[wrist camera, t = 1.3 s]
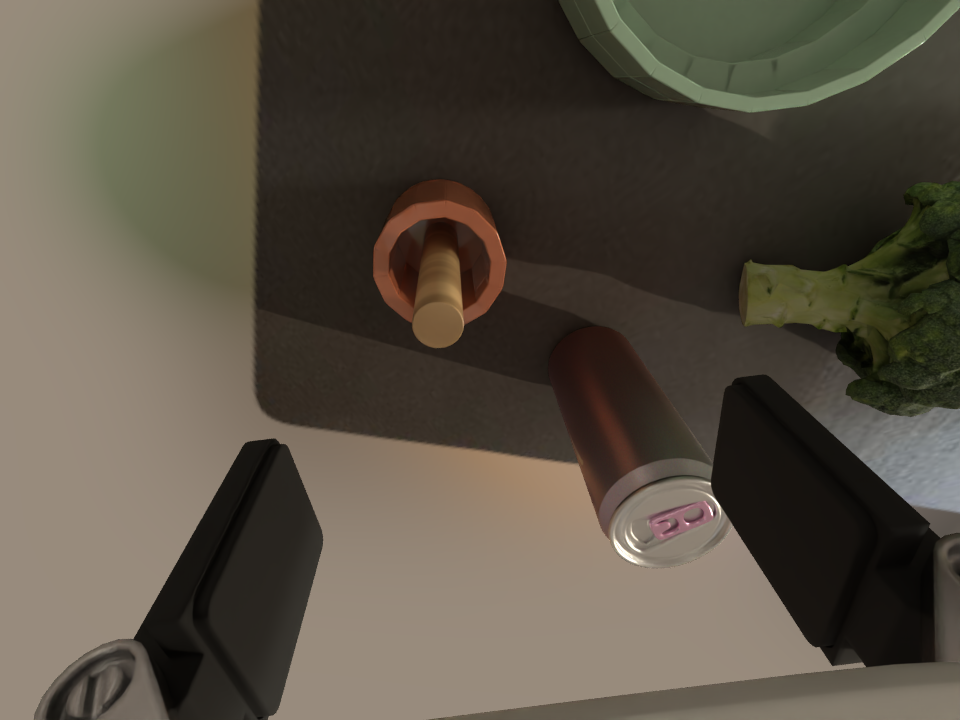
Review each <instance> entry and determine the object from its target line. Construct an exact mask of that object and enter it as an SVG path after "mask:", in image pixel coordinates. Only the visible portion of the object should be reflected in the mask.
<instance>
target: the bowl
mask: <svg viewBox="0 0 960 720" xmlns="http://www.w3.org/2000/svg"><path fill="white" fill-rule="evenodd" d="M558 1H559V3H560V5H561V7H562V9H563V11H564V13H565V15H566V17H567V19H568V20H569V22H570V24H571V26H572V28H573V30H574V32H575V34H576V36H577V38H578V39H579V41H580V42H581V43H582V44H583V46H584V47H585V48H586V49H587V50H588V51H589V52H590V53H591V54H592V55H593V56H594V57H595V58H596V59H597V60H598V61H599V63H600V64H601V65H602V66H603V67H604V68H605V69H606V70H607V71H608V72H609V73H610V74H611V75H612V76H614V78H616V79H618V80H620V81H621V82H623V83H625V84H627V85H629V86H630V87H632V88H634V89H636V90H638V91H640V92H641V93H643V94H645V95H647V96H649V97H650V98H652V99H655V100H661V101H666V102H672V103H677V104H683V105H688V106H694V107H701V108H711V109H720V110H729V111H739V112H748V113H749V112H750V113H752V112H760V111H768V110H776V109H784V108H792V107H800V106H806V105H810V104H812V103H815V102H817V101H820V100H822V99H825V98H827V97H830V96H832V95H835V94H837V93H839V92H842V91H844V90H847V89H849V88H852V87H854V86H857V85H859V84H862V83H864V82H866V81H868V80H869V79H871V78H872V77H874V76H875V75H877V74H878V73H880V72H881V71H883V70H884V69H885V68H887V67H888V66H890V65H891V64H893V63H894V62H896V61H897V60H899V59H900V58H902V57H903V56H905V55H906V54H908V53H909V52H911V51H912V50H914V49H915V48H917V47H918V46H919V45H921V44H922V43H924V42H925V41H926V40H927V39H928V38H929V37H930V36H931V35H932V34H933V33H934V32H935V31H936V30H937V29H938V28H939V27H940V26H941V25H942V24H943V23H945V22H946V21H947V20H948V19H949V18H950V17H951V16H952V15H953V14H954V13H955V12H956V11H957V10H958V9H959V8H960V0H558Z"/></svg>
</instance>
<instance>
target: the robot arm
mask: <svg viewBox="0 0 960 720" xmlns="http://www.w3.org/2000/svg"><path fill="white" fill-rule="evenodd" d="M711 488H712V492H713V494H714V496H715V498H716V500H717V501H718V503H719V505H720V506H721V508H722V509H723V511H724V512H725V514H726V515H727V517H728V518H729V520H730V522H731V523H732V525H733V526H734V528H735V529H736V531H737V532H738V534H739V536H740V537H741V539H742V540H743V542H744V543H745V545H746V546H747V548H748V550H749V551H750V553H751V554H752V556H753V557H754V559H755V560H756V562H757V563H758V565H759V567H760V568H761V570H762V571H763V573H764V574H765V576H766V577H767V579H768V580H769V582H770V584H771V585H772V587H773V588H774V590H775V591H776V593H777V594H778V596H779V598H780V599H781V601H782V602H783V604H784V605H785V607H786V609H787V610H788V612H789V613H790V615H791V616H792V618H793V619H794V621H795V623H796V624H797V626H798V627H799V628H800V630H801V632H802V633H803V635H804V637H805V638H806V639H807V641H808V642H809V643H810V644H811V645H812V646H814V647H820V648H821V650H822V651H823V652H824V654H825V656H826V657H827V659H828V660H829V661H830V663H831V665H832V666H835V665H844V664H851V663H860V662H863V663H864V665H865V666H866V667H865V668H855V669H845V670H835V671H825V672H816V673H805V674H796V675H788V676H779V677H771V678H762V679H754V680H745V681H737V682H729V683H721V684H712V685H703V686H696V687H687V688H678V689H670V690H662V691H653V692H645V693H637V694H629V695H620V696H612V697H604V698H596V699H588V700H580V701H572V702H564V703H556V704H548V705H540V706H532V707H524V708H517V709H508V710H500V711H492V712H484V713H476V714H468V715H461V716H453V717H445V718H438V719H430V720H960V533H954V534H950V535H945V536H943V537H942V538H940V537H939V536H938V535H936V534H935V533H934V532H933V531H932V530H931V529H930V528H929V525H930V523H929V522H928V521H927V520H926V519H925V518H923V517H922V516H921V515H920V514H919V513H918V512H917V511H916V510H915V509H914V508H912V507H911V506H910V505H909V504H908V503H907V502H906V501H905V500H904V499H903V498H902V497H900V496H899V495H898V494H897V493H896V492H895V491H894V490H893V489H892V488H891V487H890V486H888V485H887V484H886V483H885V482H884V481H883V480H882V479H881V478H880V477H879V476H877V475H876V474H875V473H874V472H873V471H872V470H871V469H870V468H869V467H868V466H867V465H865V464H864V463H863V462H862V461H861V460H860V459H859V458H858V457H857V456H856V455H854V454H853V453H852V452H851V451H850V450H849V449H848V448H847V447H846V446H845V445H844V444H842V443H841V442H840V441H839V440H838V439H837V438H836V437H835V436H834V435H833V434H832V433H830V432H829V431H828V430H827V429H826V428H825V427H824V426H823V425H822V424H821V423H819V422H818V421H817V420H816V419H815V418H814V417H813V416H812V415H811V414H810V413H809V412H807V411H806V410H805V409H804V408H803V407H802V406H801V405H800V404H799V403H798V402H796V401H795V400H794V399H793V398H792V397H791V396H790V395H789V394H788V393H787V392H786V391H784V390H783V389H782V388H781V387H780V386H779V385H778V384H777V383H776V382H775V381H774V380H772V379H771V378H770V377H769V376H767V375H756V376H748V377H740V378H736V379H734V381H733V382H732V386H728V387H726V389H725V392H724V397H723V404H722V410H721V417H720V423H719V429H718V436H717V442H716V449H715V455H714V462H713V468H712V475H711ZM322 546H323V534H322V530H321V527H320V525H319V522H318V520H317V518H316V515H315V512H314V510H313V507H312V505H311V502H310V500H309V498H308V495H307V493H306V490H305V488H304V485H303V483H302V480H301V478H300V475H299V473H298V470H297V468H296V465H295V463H294V460H293V458H292V456H291V453H290V450H289V448H288V446H287V445H285V444H280V443H279V442H278V441H277V440H276V439H266V440H258V441H250V442H247V443H245V444H244V446H243V447H242V449H241V451H240V452H239V454H238V456H237V458H236V459H235V461H234V463H233V465H232V466H231V468H230V470H229V472H228V473H227V475H226V477H225V479H224V480H223V482H222V484H221V486H220V488H219V489H218V491H217V493H216V495H215V496H214V498H213V500H212V502H211V503H210V505H209V507H208V509H207V511H206V512H205V514H204V516H203V518H202V519H201V521H200V523H199V524H198V526H197V528H196V530H195V531H194V533H193V535H192V537H191V538H190V540H189V542H188V544H187V546H186V547H185V549H184V551H183V553H182V554H181V556H180V558H179V560H178V562H177V563H176V565H175V567H174V569H173V570H172V572H171V574H170V575H169V577H168V579H167V581H166V583H165V585H164V586H163V588H162V590H161V591H160V593H159V595H158V597H157V599H156V600H155V602H154V604H153V605H152V607H151V609H150V611H149V613H148V614H147V616H146V618H145V620H144V621H143V623H142V625H141V627H140V629H139V630H138V632H137V634H136V635H135V637H134V639H118V640H115V641H112V642H108V643H106V644H102V645H100V646H99V647H97V648H95V649H93V650H91V651H89V652H87V653H86V654H84V655H83V656H82V657H80V658H79V659H78V660H76V661H75V662H74V663H72V664H71V665H70V666H68V667H67V668H66V670H64V672H63V673H62V674H61V675H60V676H58V677H57V678H56V679H55V680H54V682H53V683H52V684H51V686H50V687H49V689H48V690H47V691H46V693H45V694H44V695H43V697H42V699H41V701H40V703H39V705H38V707H37V710H36V712H35V715H34V720H268V717H269V716H271V715H274V714H275V713H276V711H277V710H278V708H279V705H280V702H281V698H282V694H283V690H284V687H285V683H286V679H287V676H288V672H289V668H290V665H291V661H292V657H293V653H294V649H295V646H296V643H297V639H298V635H299V632H300V628H301V624H302V620H303V617H304V613H305V609H306V606H307V602H308V598H309V595H310V591H311V587H312V584H313V580H314V576H315V572H316V568H317V565H318V561H319V557H320V554H321V550H322Z"/></svg>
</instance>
